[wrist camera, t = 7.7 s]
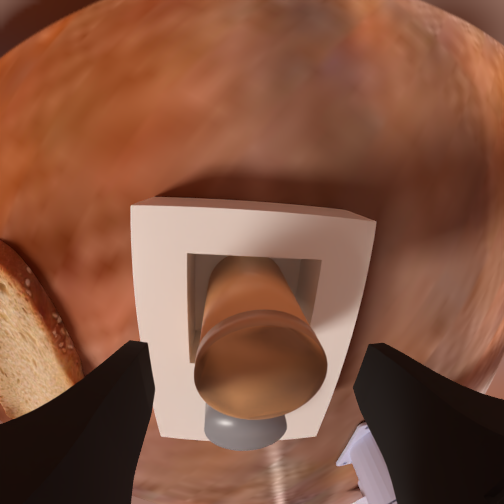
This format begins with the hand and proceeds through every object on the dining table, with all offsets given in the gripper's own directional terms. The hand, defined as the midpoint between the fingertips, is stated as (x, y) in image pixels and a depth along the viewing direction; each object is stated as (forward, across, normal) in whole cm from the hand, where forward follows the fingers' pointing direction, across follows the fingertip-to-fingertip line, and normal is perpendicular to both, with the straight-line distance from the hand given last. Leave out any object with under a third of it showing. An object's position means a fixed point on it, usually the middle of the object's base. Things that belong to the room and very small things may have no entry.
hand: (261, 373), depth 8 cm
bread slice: (+8, +18, +9) cm, 22 cm away
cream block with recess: (+7, 0, +2) cm, 7 cm away
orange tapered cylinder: (+7, 0, 0) cm, 7 cm away
